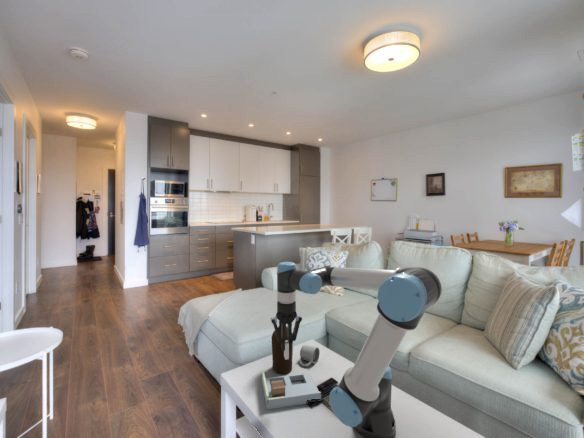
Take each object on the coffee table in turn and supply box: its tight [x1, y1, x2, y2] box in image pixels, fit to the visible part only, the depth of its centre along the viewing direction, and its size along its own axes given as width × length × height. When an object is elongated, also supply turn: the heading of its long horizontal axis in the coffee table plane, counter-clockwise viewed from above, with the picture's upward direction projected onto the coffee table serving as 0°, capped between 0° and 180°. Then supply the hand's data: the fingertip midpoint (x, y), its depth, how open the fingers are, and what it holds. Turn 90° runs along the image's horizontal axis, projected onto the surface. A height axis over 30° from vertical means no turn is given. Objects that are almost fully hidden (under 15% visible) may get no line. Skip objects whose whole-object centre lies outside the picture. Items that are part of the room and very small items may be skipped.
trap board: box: [261, 371, 322, 411], centre depth 120 cm, size 16×22×6 cm
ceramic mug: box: [299, 344, 321, 368], centre depth 143 cm, size 11×8×8 cm
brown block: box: [271, 380, 285, 398], centre depth 115 cm, size 5×5×4 cm
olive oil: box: [271, 320, 294, 375], centre depth 137 cm, size 11×11×25 cm
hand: (286, 357), depth 115 cm, fingers closed
